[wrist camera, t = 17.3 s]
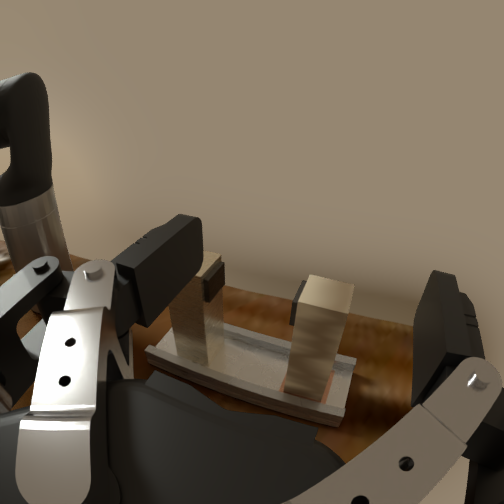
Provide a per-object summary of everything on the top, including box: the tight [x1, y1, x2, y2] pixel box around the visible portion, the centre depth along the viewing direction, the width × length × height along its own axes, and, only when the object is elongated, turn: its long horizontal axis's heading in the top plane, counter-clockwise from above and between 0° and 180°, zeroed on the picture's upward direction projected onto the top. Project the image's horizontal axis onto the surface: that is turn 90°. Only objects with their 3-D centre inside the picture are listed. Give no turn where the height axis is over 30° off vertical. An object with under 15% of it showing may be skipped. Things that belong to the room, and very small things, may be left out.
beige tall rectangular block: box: [284, 275, 354, 401], centre depth 29 cm, size 4×4×12 cm
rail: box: [145, 250, 356, 428], centre depth 31 cm, size 22×8×13 cm, turn 68°
